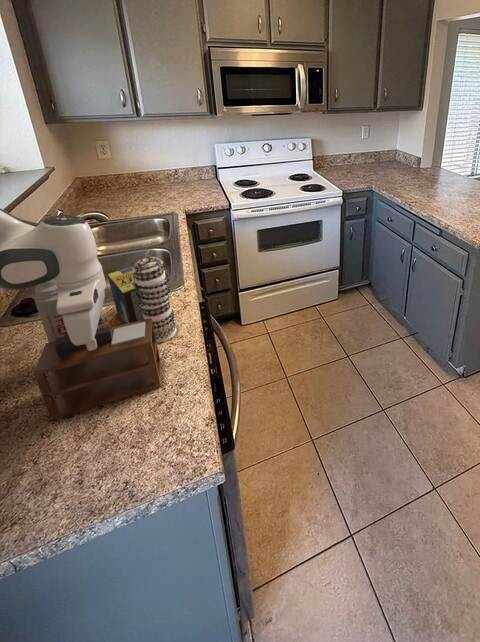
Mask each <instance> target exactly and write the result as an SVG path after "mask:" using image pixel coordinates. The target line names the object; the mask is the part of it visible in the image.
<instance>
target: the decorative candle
mask: <svg viewBox="0 0 480 642" xmlns="http://www.w3.org/2000/svg"><path fill="white" fill-rule="evenodd" d="M132 266H133V267H132V270H133V271H134V274H135V282H136V284H135V286H134V287H135V291H136V295H138V296H137V297H138V301H139V302H140V303H139V305H140V307H141V308H142V310H143V320H145V319H149V318H152V322H153V327H154V332H155V336H156V341H157V344H160V343H163V342H166V341H168V340H170V339H172V338H173V337H174V336H175V335H176V333H177V323H176V319H175V313H174V309H172V303H171V302H170V300H171V297H172V296H171V289H170V284H169V282H170V280H169V274H168V273H167V272H166V271H165V269H164V260H162V259H159V258H158V257H156V256H146V257H142V258H140V259H138V260H137V261H136V262H135V264H134V265H132ZM137 287H138V289H137Z"/></svg>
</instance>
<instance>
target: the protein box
mask: <svg viewBox="0 0 480 642" xmlns="http://www.w3.org/2000/svg"><path fill="white" fill-rule="evenodd" d="M133 266H134V265H131V266H128V267H125V268H122V269H120V270H116V271H114V272H110V273H107V279H108V283H109V286H110V290H111V295H112V299H113V302H114V307H115V310H116V313H117V316H118V318H120V321H121V322H122V323H123V325H124V324H128V323H133V322H137V321H141V320H143V310H142V308H141V307H140V305H139V303H140V302H139V301H138V297H137V296H138V295H136V291H135V287H134V286H135V284H136V282H135V274H134V271H133V270H132V267H133ZM137 289H138V287H137Z"/></svg>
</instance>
